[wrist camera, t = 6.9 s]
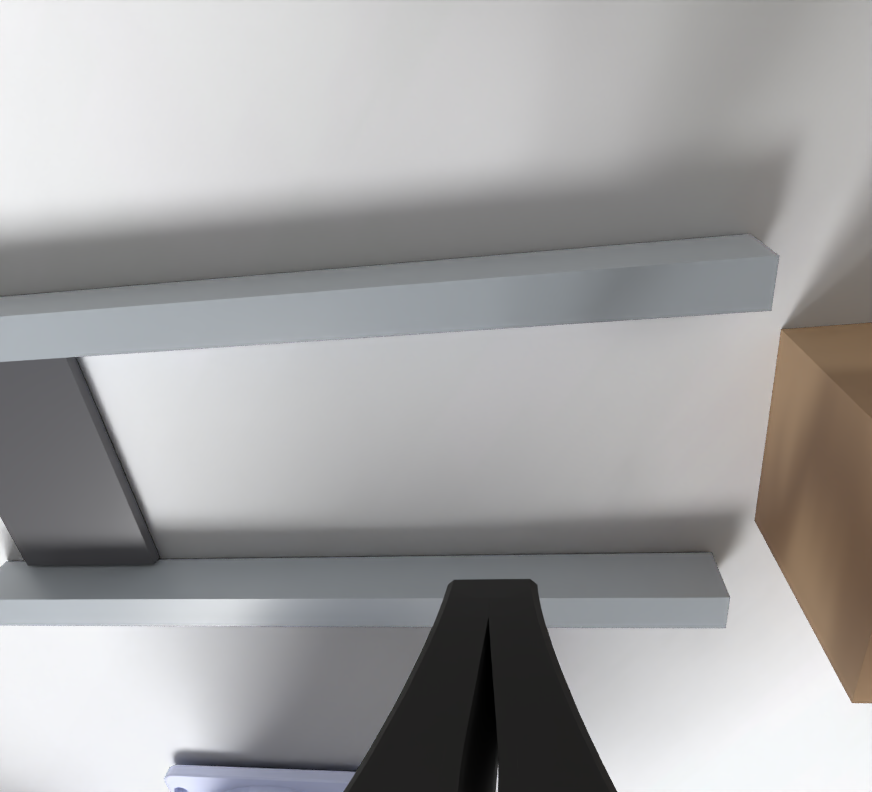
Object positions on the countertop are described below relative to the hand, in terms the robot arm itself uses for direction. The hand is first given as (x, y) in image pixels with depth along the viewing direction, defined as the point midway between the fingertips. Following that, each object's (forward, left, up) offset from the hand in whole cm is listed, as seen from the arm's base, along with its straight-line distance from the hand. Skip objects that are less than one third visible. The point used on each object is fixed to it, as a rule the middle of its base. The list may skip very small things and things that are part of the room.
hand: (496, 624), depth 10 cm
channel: (0, +5, -5) cm, 7 cm away
